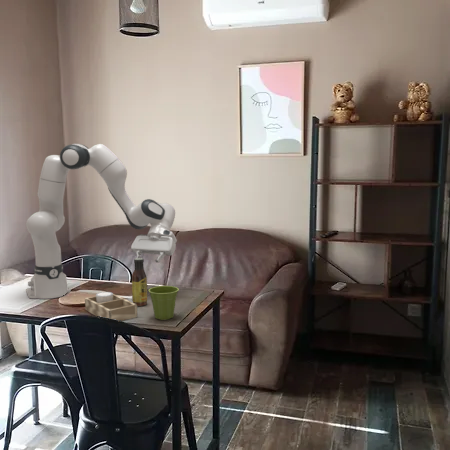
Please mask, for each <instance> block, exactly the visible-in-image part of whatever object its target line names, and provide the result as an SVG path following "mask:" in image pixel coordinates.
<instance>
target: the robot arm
mask: <svg viewBox="0 0 450 450" xmlns="http://www.w3.org/2000/svg"><path fill="white" fill-rule="evenodd" d="M87 166H90V167H92V168H93V169H94V170H95V171H96V172H97V174H99V176H100V177H101V178H102V179H103V181H104V183H105V184H106V186H107V189H108V191H109V193H110V194H111V197H112V198H113V199H114V201H115V202H116V203H117V205H118V207H119V208H120V209H121V210H122V212H123V214H124V215H125V218H126V220H127V222H128V224H129V226H131V227H132V228H133V229H135V230H143V229H145V228H146V227H147V226H148V225H149V224H150V227H149V230H148V232H147V234H141V233H140V234H139V235H137V236H136V237H135V239H134V240H133V242H132V243H131V247H130V249H131V251H132V252H133V253H134V254H136V258H142V257H141V256H142V254H143V255H144V254H146V255H159V256H156V257H155V260H154V261H155V263H160V262H161V260H162V259H163V258H165V256H173V255H174V253H175V251H176V246H177V244H176V243H177V241H178V239H177V237H176V236H175V234H174V232H173V231H172V230H171V228H172V227H173V224H174V221H175V218H176V210H175V207H174V206H173V205H172V204H169V203H167V202H162V203H161V202H157V201H155V200H154V199H151V198H147V199H144V200H142V201H141V202H140V203H139V204H138V205H136V204H135V202H133V200H132V199H131V198H130V196H129V194H128V193H127V191H126V187H125V184H126V181H127V176H128V171H127V168H126V166H125V164H124V163H123V162H122V161H121V160H120V158H119V157H118V156H117V155H116V154H115V153H114V152H113V151H112V150H111V149H110V148H109V147H108V146H106V145H105V144H102V143H98V144H94V145H93V146H91V147H90V148H89V147H88V146H86V145H85V144H82V143H72V144H67V145H65V146H64V147H63V148H62V149H61V151H60V153H59V155H58V154H51V155H48V156H46V157H45V159H44V161H43V164H42V167H41V170H40V175H39V181H38V187H37V188H38V190H37V198H38V201H39V202H38V203H39V210H38V211H37V212H34V213H33V214H32V215H30V216H29V217H28V218H27V220H26V223H25V227H26V231H27V232H28V233H29V234H30V237H31V241H32V244H33V246H34V247H33V249H34V256H35V257H34V258H35V265H34V275H32V277H31V278H30V281H27V287H28V288H26V289H25V292H26V294H27V296H29V297H28V298H29V299H40V300H41V299H42V300H43V299H44V300H45V299H48V300H49V299H56V298H60V297H63V295H64V296H66V295H67V294H68V293H71V288H70V287H68V280H67V275H66V274H65V273H64V272H63V271H64V266H63V263H62V249H61V245H60V244H59V242H58V237H57V235H56V232H58V231H59V230H61V229H62V228H63V226H64V224H65V221H66V220H65V219H66V217H65V215H64V198H65V190H66V183H67V177H68V173H69V172H70V170H80V169H83V168H86V167H87ZM67 292H68V293H67ZM66 293H67V294H66ZM65 294H66V295H65Z"/></svg>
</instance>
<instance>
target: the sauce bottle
mask: <svg viewBox="0 0 450 450" xmlns="http://www.w3.org/2000/svg"><path fill="white" fill-rule="evenodd" d="M133 263H134V271H133V272H132V274H131V296H132V297H131V298H132V301H131V302H132V303H134V304H137V307H143V306H146V305H148V279H147V278H148V277H147V273H146V272H145V269H144V268H145V267H144V263H145V259H144V258H142V257H141V258H137V257H136V258H134V259H133Z"/></svg>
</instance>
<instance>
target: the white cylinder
mask: <svg viewBox="0 0 450 450" xmlns="http://www.w3.org/2000/svg"><path fill="white" fill-rule="evenodd" d="M113 294H114V293H113V292H111V291H103V292H102V291H101V292H98V293H96V294H95V296H96V300H97V303H103V302H108V301H113Z"/></svg>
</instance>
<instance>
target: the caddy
mask: <svg viewBox="0 0 450 450" xmlns="http://www.w3.org/2000/svg"><path fill="white" fill-rule="evenodd" d="M84 305H85V307H84V308H85V309H84V310H85V311H87V312H88V313H90V314H92V315H94V316H95V317H97V316H101V317H106V318H110V319H116V320H121V321H120V322H122V321H127V320H130V319H135V318H138V306H137V304H134V303H133V301H130V300H128V299H126V298H123V297H121V296H119V295H117V294H115V293H113V301H108V302H103V303H97V300H96V295H95V296H89V297H85V298H84Z"/></svg>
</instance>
